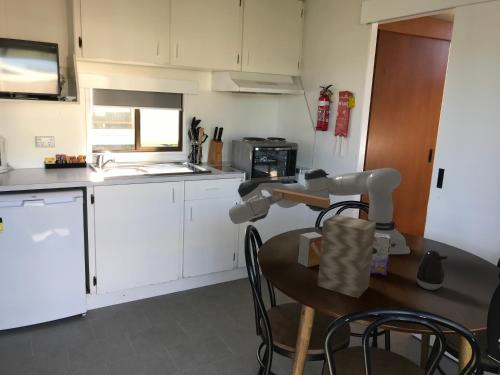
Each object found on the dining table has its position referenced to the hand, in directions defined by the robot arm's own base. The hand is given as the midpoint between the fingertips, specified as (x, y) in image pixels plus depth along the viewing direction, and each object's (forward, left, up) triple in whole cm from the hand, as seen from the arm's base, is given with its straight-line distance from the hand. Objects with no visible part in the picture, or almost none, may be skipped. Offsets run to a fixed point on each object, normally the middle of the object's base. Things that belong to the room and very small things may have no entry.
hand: (285, 194), depth 171 cm
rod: (-6, +3, -2) cm, 7 cm away
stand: (-24, +14, -32) cm, 42 cm away
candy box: (-38, -3, -32) cm, 50 cm away
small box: (-13, -7, -32) cm, 35 cm away
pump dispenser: (-58, +10, -32) cm, 67 cm away
